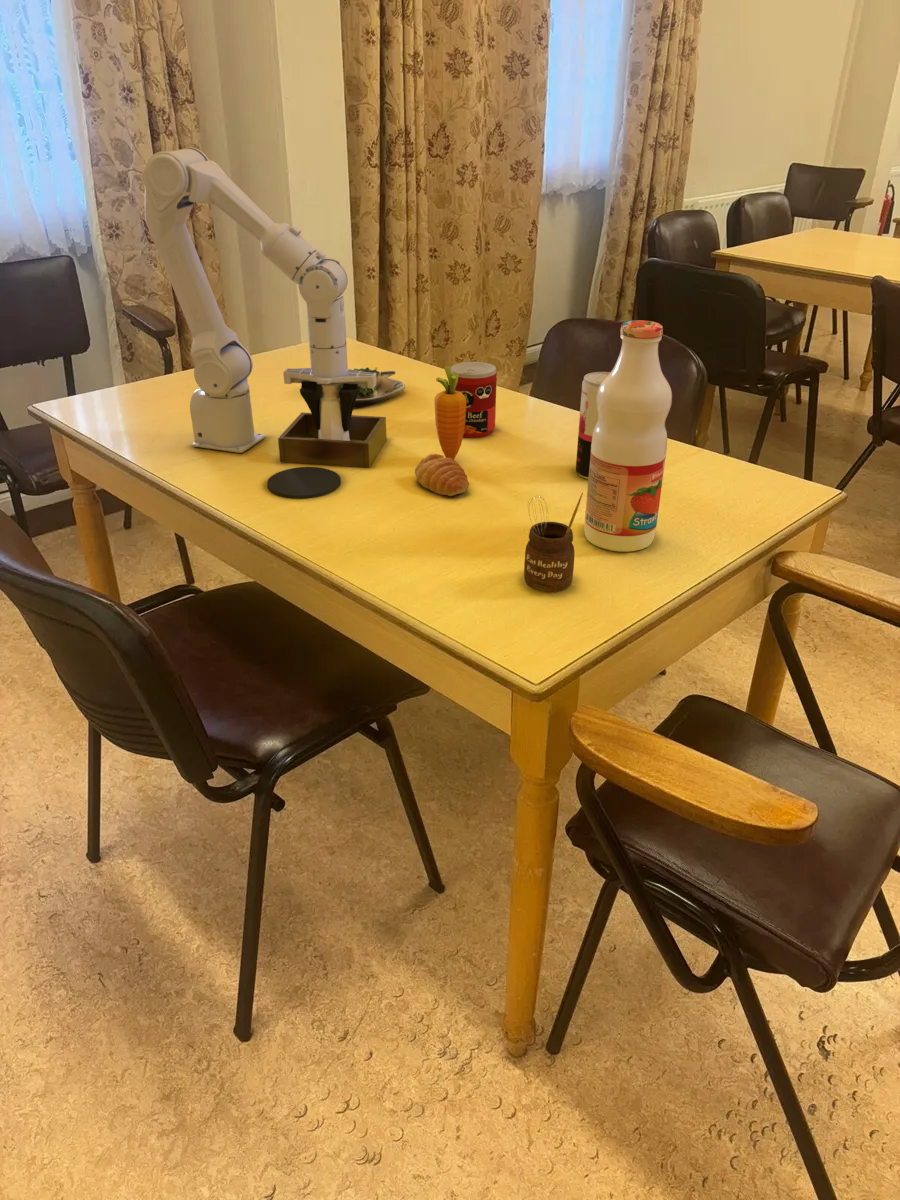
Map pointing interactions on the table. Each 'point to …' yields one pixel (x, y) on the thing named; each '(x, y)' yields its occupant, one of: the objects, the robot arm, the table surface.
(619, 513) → the fruit juice
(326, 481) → the mat
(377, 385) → the salad plate
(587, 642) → the table surface
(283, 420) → the table surface
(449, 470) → the pastry
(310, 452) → the rectangular frame
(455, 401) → the carrot
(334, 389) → the salt shaker
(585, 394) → the beverage can
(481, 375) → the canned food
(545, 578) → the utensil holder
